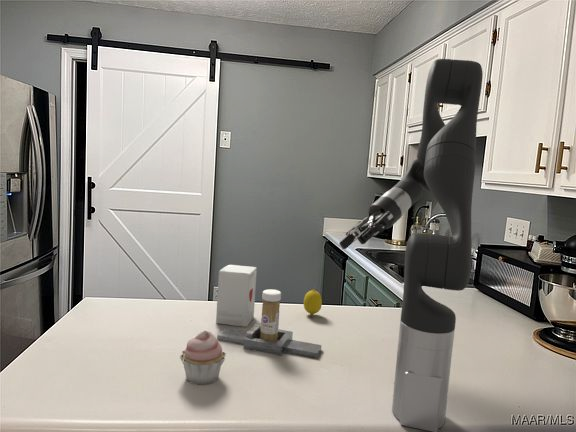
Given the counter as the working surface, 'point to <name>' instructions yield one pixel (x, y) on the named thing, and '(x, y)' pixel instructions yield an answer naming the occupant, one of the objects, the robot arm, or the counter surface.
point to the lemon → (312, 302)
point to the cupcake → (203, 358)
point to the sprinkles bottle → (270, 315)
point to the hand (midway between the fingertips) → (350, 243)
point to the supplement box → (236, 295)
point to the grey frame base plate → (270, 342)
